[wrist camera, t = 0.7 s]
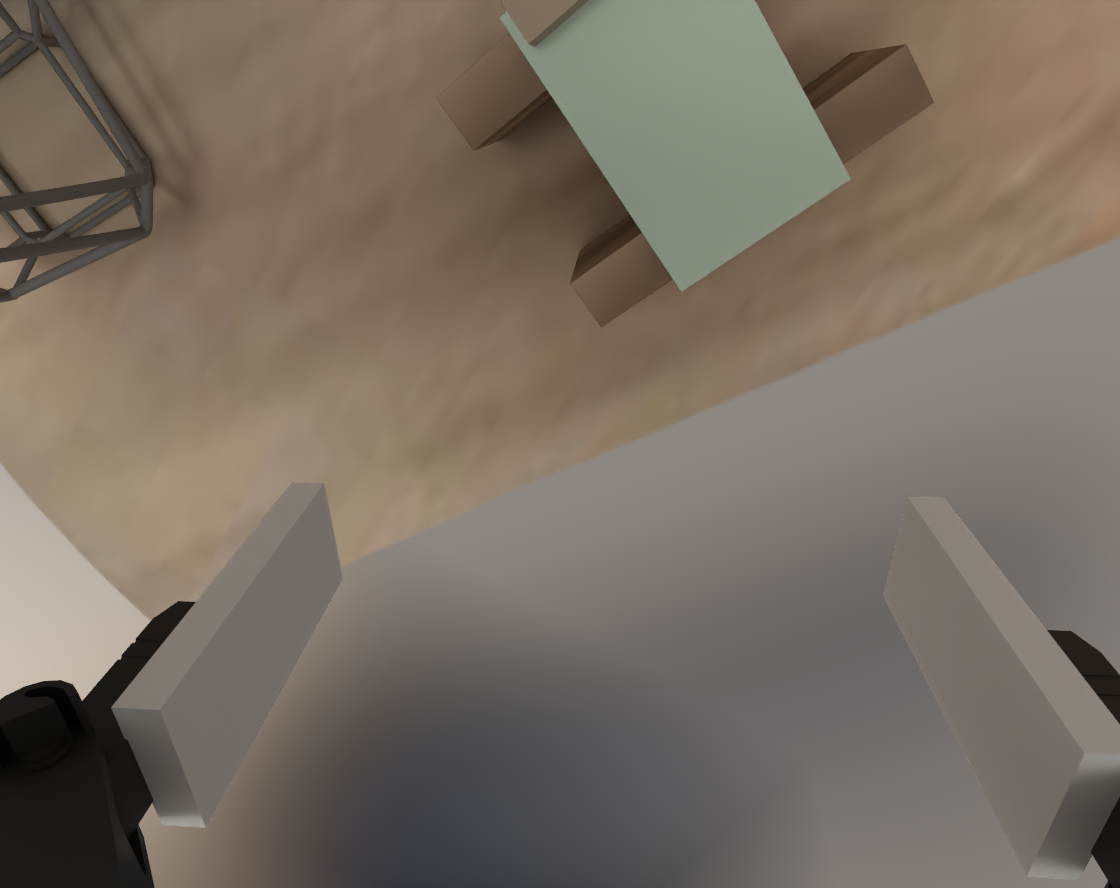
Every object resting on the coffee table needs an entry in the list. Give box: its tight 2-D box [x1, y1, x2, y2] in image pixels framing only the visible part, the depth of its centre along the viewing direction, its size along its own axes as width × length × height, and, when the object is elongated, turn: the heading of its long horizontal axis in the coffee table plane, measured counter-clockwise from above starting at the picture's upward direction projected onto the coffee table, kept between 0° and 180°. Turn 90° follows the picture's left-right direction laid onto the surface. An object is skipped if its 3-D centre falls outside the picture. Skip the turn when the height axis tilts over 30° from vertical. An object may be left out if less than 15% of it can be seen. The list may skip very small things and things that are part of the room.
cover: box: [500, 0, 851, 292], centre depth 27 cm, size 13×8×3 cm, turn 37°
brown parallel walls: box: [436, 33, 934, 327], centre depth 32 cm, size 12×16×8 cm
